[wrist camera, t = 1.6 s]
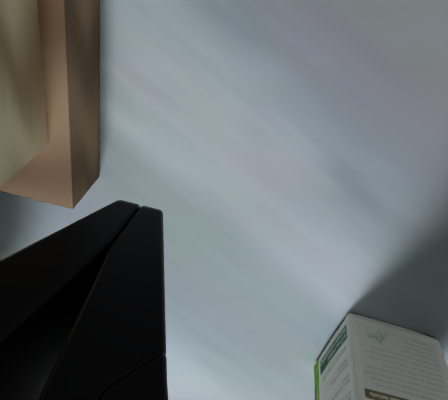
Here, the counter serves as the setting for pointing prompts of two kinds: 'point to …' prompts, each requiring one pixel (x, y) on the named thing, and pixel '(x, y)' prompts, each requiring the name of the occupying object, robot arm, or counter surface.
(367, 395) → the syrup box
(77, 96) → the trap deck
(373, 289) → the counter surface
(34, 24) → the maple slab
